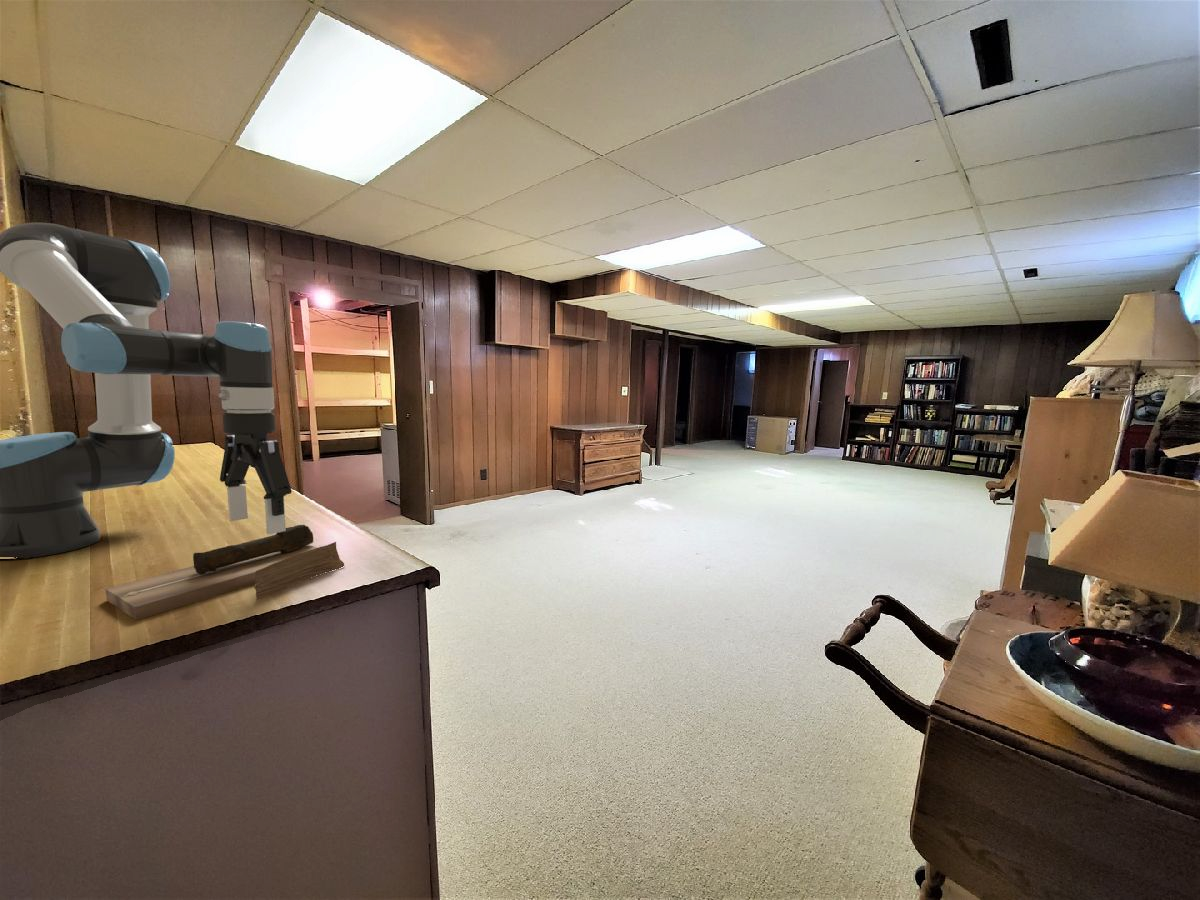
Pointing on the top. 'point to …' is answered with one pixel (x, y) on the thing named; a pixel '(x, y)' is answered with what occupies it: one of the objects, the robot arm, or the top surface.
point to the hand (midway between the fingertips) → (256, 525)
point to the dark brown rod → (253, 549)
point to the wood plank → (296, 569)
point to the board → (188, 585)
